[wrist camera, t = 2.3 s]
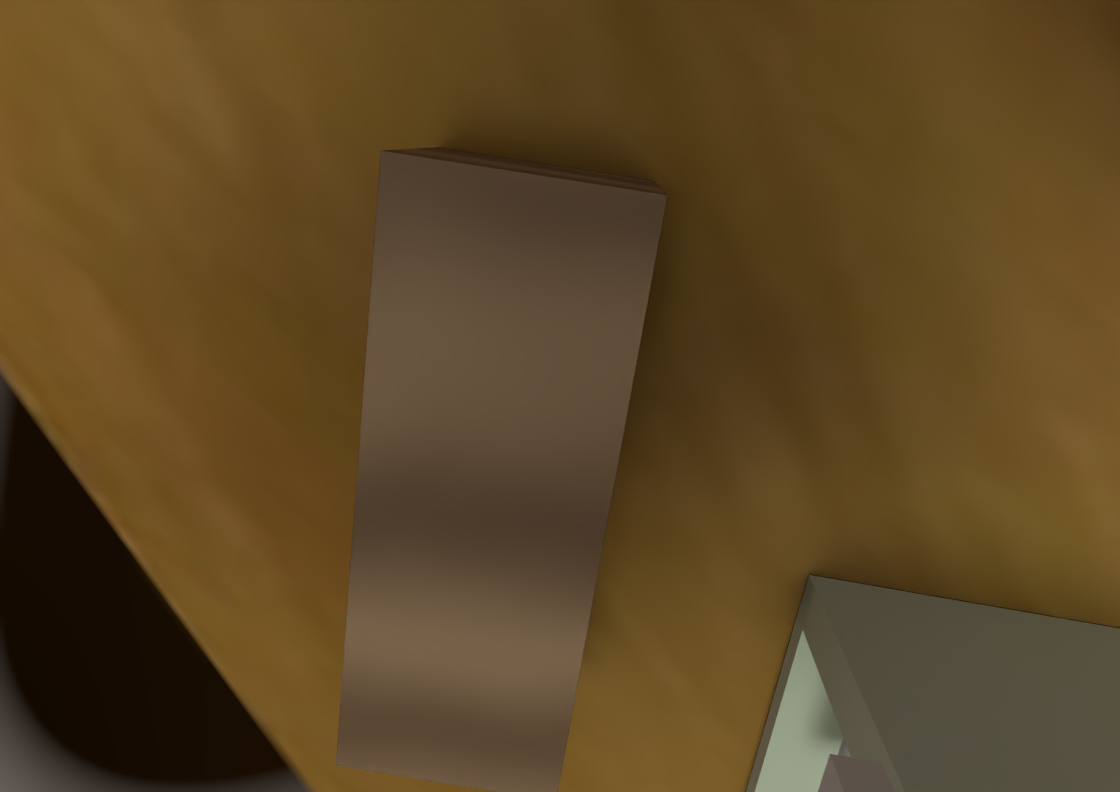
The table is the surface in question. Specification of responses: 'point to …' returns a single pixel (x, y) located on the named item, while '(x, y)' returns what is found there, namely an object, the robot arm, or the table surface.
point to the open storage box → (942, 695)
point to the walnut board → (487, 458)
